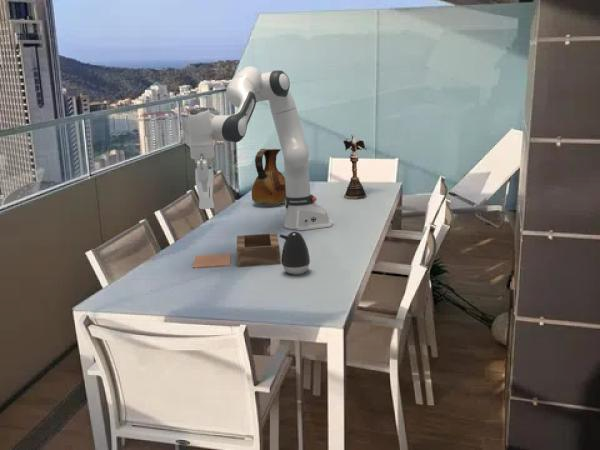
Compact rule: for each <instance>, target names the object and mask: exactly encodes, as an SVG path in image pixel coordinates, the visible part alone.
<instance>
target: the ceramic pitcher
mask: <svg viewBox="0 0 600 450" xmlns="http://www.w3.org/2000/svg"><path fill="white" fill-rule="evenodd" d="M281 151H282V149H280V148H272V149H271V148H269V149H268V148H260V150H258V152H256V155H255V158H254V162H255V163H254V165H255V168H256V173H257V176H256V178H255V180H254V182H253V185H252V188H251V199H252V201H253V202H254V203H258V204H260V205H264V206H278V205H280V204H283V203H285V196H286V188H285V175H283V174H282V172H281V171H279V169H278V166H277V156H278V154H279V152H281ZM263 157H264V160H265V161H264V162H265V164H263ZM264 165H265V166H264Z"/></svg>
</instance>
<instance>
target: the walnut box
mask: <svg viewBox="0 0 600 450" xmlns="http://www.w3.org/2000/svg"><path fill="white" fill-rule="evenodd" d="M280 253H281V251H280V243H279V236H278V233H277V232H271V233H270V232H269V233H260V234H259V233H257V234H244V235H243V234H242V235H236V258H237V259H236V260H237V268H239V267H253V266H255V267H256V266H268V265H281V254H280Z"/></svg>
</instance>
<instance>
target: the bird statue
mask: <svg viewBox="0 0 600 450" xmlns="http://www.w3.org/2000/svg"><path fill="white" fill-rule="evenodd" d="M350 135H351V140H348V137H347V136H346V137H345V139H344V140H343V141H342V142H343V144H344V147H345V152H346V151H347V150H349V149H350V151H351V152H350V155H349V159H350V160H349V161H350V162H351V164H352V166H351V168H352V169H351V171H352V177H350V181H349V184H348V185H347V187H346V191H345V194H344V195H343V199H346V200H363V199H366V197H367V194H366V191H365V189H364V186H363V185H362V182H361V181H360V177H358V167H357V163H358V161H359V158H360V156H359V155H358V152H357V151H358V150H360V151H362V150H366V151H368V150H367V147H366V145H365V143H364V140H363V139H359V140H356V138H355V137H356V136H355V134H353V133H352V134H350Z"/></svg>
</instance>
